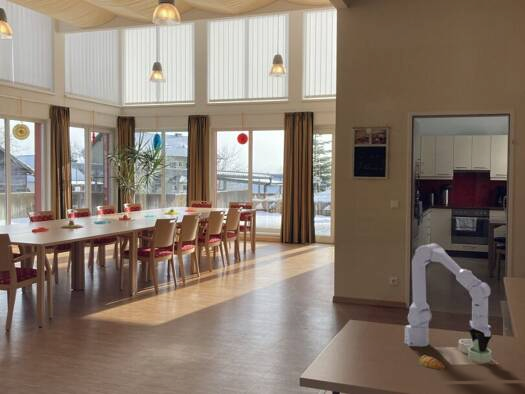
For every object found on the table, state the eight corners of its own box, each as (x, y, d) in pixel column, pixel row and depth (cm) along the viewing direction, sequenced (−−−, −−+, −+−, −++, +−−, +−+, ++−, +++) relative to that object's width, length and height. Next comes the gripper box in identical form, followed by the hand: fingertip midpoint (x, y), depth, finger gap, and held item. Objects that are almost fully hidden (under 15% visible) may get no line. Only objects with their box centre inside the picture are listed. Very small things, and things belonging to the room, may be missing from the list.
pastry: (448, 369, 196) (448, 359, 196) (437, 374, 192) (437, 364, 192) (427, 362, 204) (427, 353, 204) (416, 366, 200) (416, 356, 200)
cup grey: (463, 354, 209) (463, 345, 209) (455, 347, 217) (455, 339, 217) (483, 353, 209) (484, 345, 209) (475, 347, 217) (475, 338, 217)
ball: (475, 353, 201) (475, 341, 201) (470, 349, 206) (470, 337, 206) (488, 353, 201) (488, 340, 201) (483, 349, 206) (483, 336, 206)
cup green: (473, 363, 200) (473, 354, 200) (464, 355, 208) (464, 346, 208) (494, 362, 200) (494, 353, 200) (485, 355, 208) (485, 346, 208)
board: (451, 367, 198) (451, 364, 198) (434, 349, 218) (434, 347, 218) (498, 366, 198) (498, 364, 198) (477, 349, 218) (477, 346, 218)
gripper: (498, 319, 196) (498, 355, 196) (482, 309, 210) (481, 342, 211) (480, 320, 196) (479, 355, 196) (464, 309, 210) (464, 343, 211)
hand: (479, 349), depth 204 cm, fingers closed on ball, 5 cm apart
